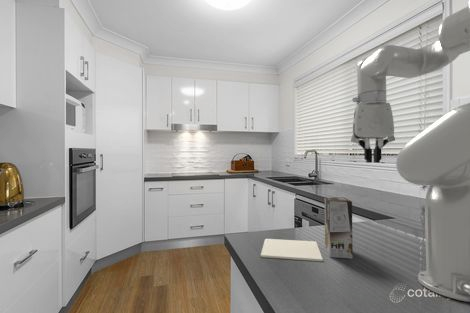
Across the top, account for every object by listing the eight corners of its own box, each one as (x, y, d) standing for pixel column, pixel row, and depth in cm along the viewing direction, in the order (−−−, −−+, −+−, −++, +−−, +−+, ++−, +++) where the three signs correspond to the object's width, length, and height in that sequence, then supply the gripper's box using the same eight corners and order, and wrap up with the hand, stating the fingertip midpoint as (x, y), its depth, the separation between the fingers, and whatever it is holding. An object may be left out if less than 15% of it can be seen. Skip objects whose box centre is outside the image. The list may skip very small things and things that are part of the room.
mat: (322, 261, 69) (322, 259, 69) (260, 257, 72) (260, 255, 72) (316, 243, 84) (316, 241, 84) (265, 240, 88) (265, 238, 88)
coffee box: (353, 259, 70) (352, 201, 71) (329, 257, 72) (328, 200, 72) (346, 248, 79) (345, 197, 80) (324, 247, 81) (324, 196, 81)
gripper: (346, 98, 73) (347, 162, 72) (406, 95, 70) (408, 162, 69) (341, 104, 80) (341, 162, 80) (395, 102, 77) (396, 162, 76)
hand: (372, 162), depth 74 cm, fingers closed
